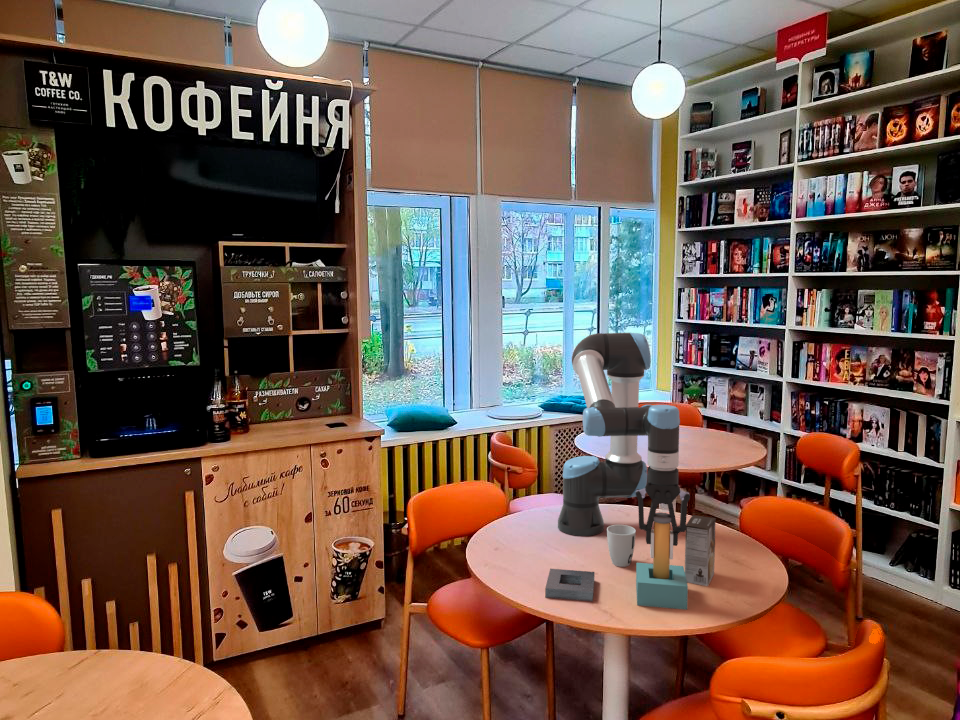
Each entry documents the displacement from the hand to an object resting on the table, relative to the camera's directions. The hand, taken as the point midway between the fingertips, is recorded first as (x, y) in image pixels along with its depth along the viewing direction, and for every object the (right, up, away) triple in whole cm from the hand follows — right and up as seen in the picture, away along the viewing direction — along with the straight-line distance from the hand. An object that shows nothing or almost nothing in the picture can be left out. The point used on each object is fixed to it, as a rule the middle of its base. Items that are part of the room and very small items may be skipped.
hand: (661, 556), depth 167 cm
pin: (0, -5, 0) cm, 5 cm away
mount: (-22, -10, +6) cm, 25 cm away
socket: (0, -11, +1) cm, 11 cm away
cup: (-6, -9, +22) cm, 24 cm away
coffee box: (+14, -10, +12) cm, 20 cm away
